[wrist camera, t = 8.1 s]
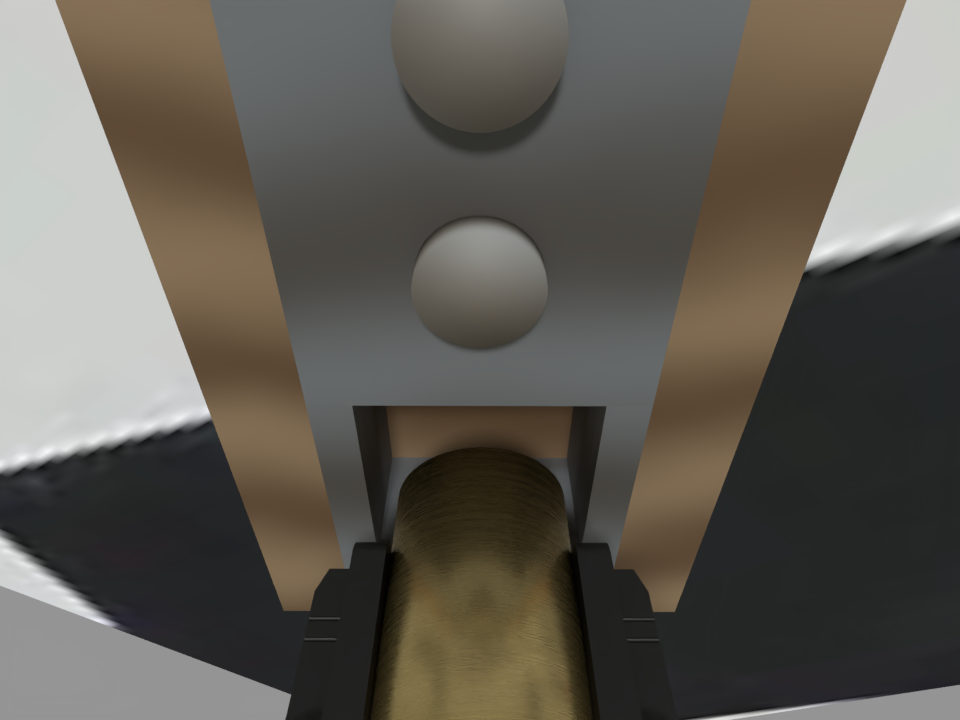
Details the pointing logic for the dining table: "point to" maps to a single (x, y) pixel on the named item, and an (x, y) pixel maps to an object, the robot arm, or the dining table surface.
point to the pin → (481, 596)
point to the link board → (707, 328)
